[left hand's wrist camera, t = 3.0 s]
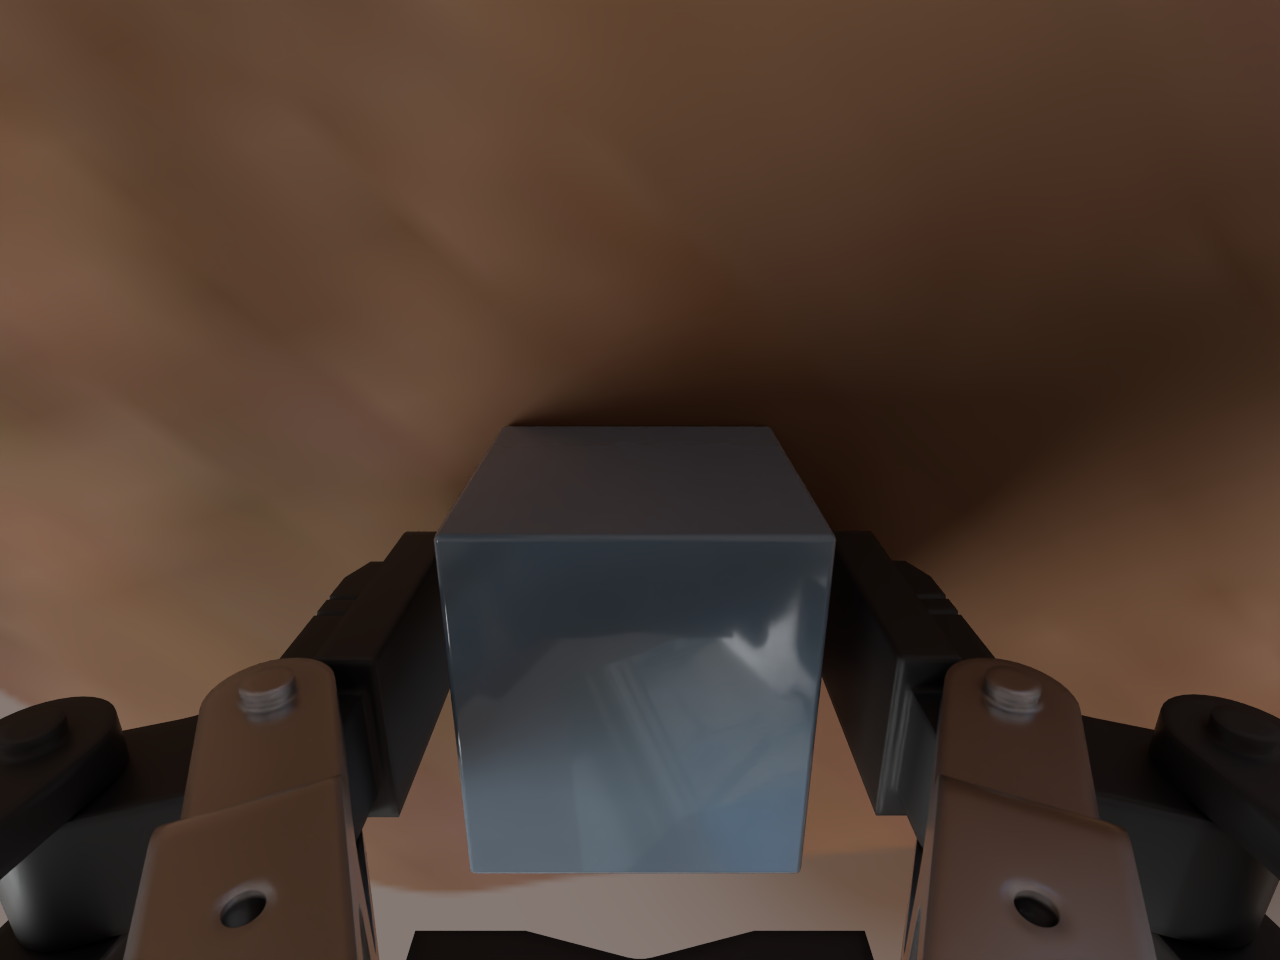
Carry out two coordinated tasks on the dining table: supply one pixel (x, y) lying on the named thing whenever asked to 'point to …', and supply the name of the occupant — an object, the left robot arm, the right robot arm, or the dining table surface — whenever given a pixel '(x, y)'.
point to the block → (635, 650)
